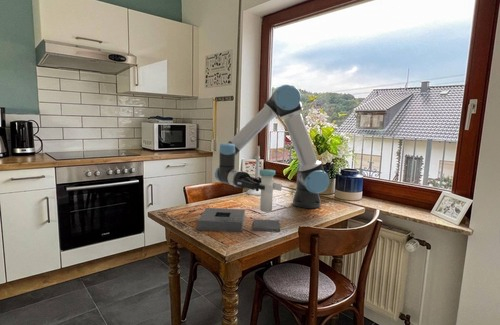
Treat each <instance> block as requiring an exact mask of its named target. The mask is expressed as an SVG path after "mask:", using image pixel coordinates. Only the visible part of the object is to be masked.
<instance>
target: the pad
mask: <svg viewBox="0 0 500 325" xmlns="http://www.w3.org/2000/svg"><path fill="white" fill-rule="evenodd" d="M280 225H281V224H280V220H278V219H277V220H276V219H257V218H255V219H253V226H252V227H253V229H252V231H260V232H261V231H262V232H263V231H264V232H281V226H280Z"/></svg>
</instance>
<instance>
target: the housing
mask: <svg viewBox="0 0 500 325" xmlns="http://www.w3.org/2000/svg"><path fill="white" fill-rule="evenodd" d="M245 218H246V209H244V208H243V209H242V208H241V209H240V208H221V207H220V208H218V207H205V209H204V210H203V212H202V213H201V214H200V217H199V218H198V219H197V231H212V232H213V231H215V232H231V233H232V232H233V233H243V227H244V222H245Z"/></svg>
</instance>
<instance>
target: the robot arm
mask: <svg viewBox="0 0 500 325" xmlns="http://www.w3.org/2000/svg"><path fill="white" fill-rule="evenodd" d="M301 100H302V95H301V92H300V90H299V88H297V87H296V86H294V85H293V84H282V85H281V86H278V87H277V89H275V90H274V91H273V93H272V94H271V95H270V97H269V98H268V100H267V101H266V102H265V103H264V104H263V108H262V109H261V110H259V111H258V112H257V113H256V114H255V115H254V116H253V117H252V118H251V119H250V120H249V121H248V122H247V123H246V124H245V125H244V126H243V127H242V128H241V129H240V130H239V131H238V132H236V134H235V135H234V136H233V137H232V138H231V139H230V140H229V141H228V142H227V143H225V142H223V143H220V144H219V151H218V153H219V162H218V163H219V166H218V167H217V168H216V170H215V171H214V178H215V179H216V180H217V182H220V183H222V184H227V185H230V186H234V188H240V189H245V188H246V189H248V190H250V189H252V190H254V189H256V191H259V190H263V191H266V192H270V193H272V186H271V185H267V184H263V183H261V176H259V177H258V178H255V176H251V175H250V174H249V172H247V171H242V170H238V169H235V168H236V167H235V166H236V165H235V163H236V162H235V160H236V156H237V155H238V154H239V153H240V151H241V150H243V148H245V146H246V145H247V144H249V143H250V142H251V141H252V140H253V139H254V138H255V137H256V136H257V135H258V134H259V133H260V132H261V131H262V130H263V129H264V128H266V126H267V125H269V123H271V121H272V120H273V119H274V118H278V117H279V118H280V119H282V120H283V121H284V123H285V126H286V129H287V131H288V132H287V133H288V135H289V139H290V141H291V144H292V146H293V149H294V152H295V155H296V157H297V160H298V163H297V168H296V170H297V171H296V172H297V175H296V190H295V193H294V195H293V198H292V205H293V206H295V207H297V208H301V209H303V208H304V209H317V208H320V207H321V205H322V204H321V198H320V193H323V192H325V191H326V190H327V189H328V187H329V185H330V177H329V175H328V173H327V172H326V171H325V168H324V165H323V163H322V161H320V160H318V158H317V155H316V152H315V150H314V147H313V144H312V141H311V138H310V135H309V133H308V129H307V127H306V123H305V121H304V118H303V115H302V112H303V110H304V108H303V104H302V102H301ZM282 188H283V185H282V183H279V182H275V181H273V190H276V191H280V192H281V191H282Z"/></svg>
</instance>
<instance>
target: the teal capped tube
mask: <svg viewBox="0 0 500 325" xmlns="http://www.w3.org/2000/svg"><path fill="white" fill-rule="evenodd" d="M276 172H277V171H276V169H275V170H274V169H268V168H267V169H266V168H265V169H259V176H260V178H261V183H263V184H267V185H271V186H272V193H270V192H266V191H263V190H261V196H260V203H259V204H260V205H259V210H260V212H264V213H269V212H270V213H271V212H273V196H274V195H273V194H274V192H273V191H274V189H273V182H274V176H276Z"/></svg>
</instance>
